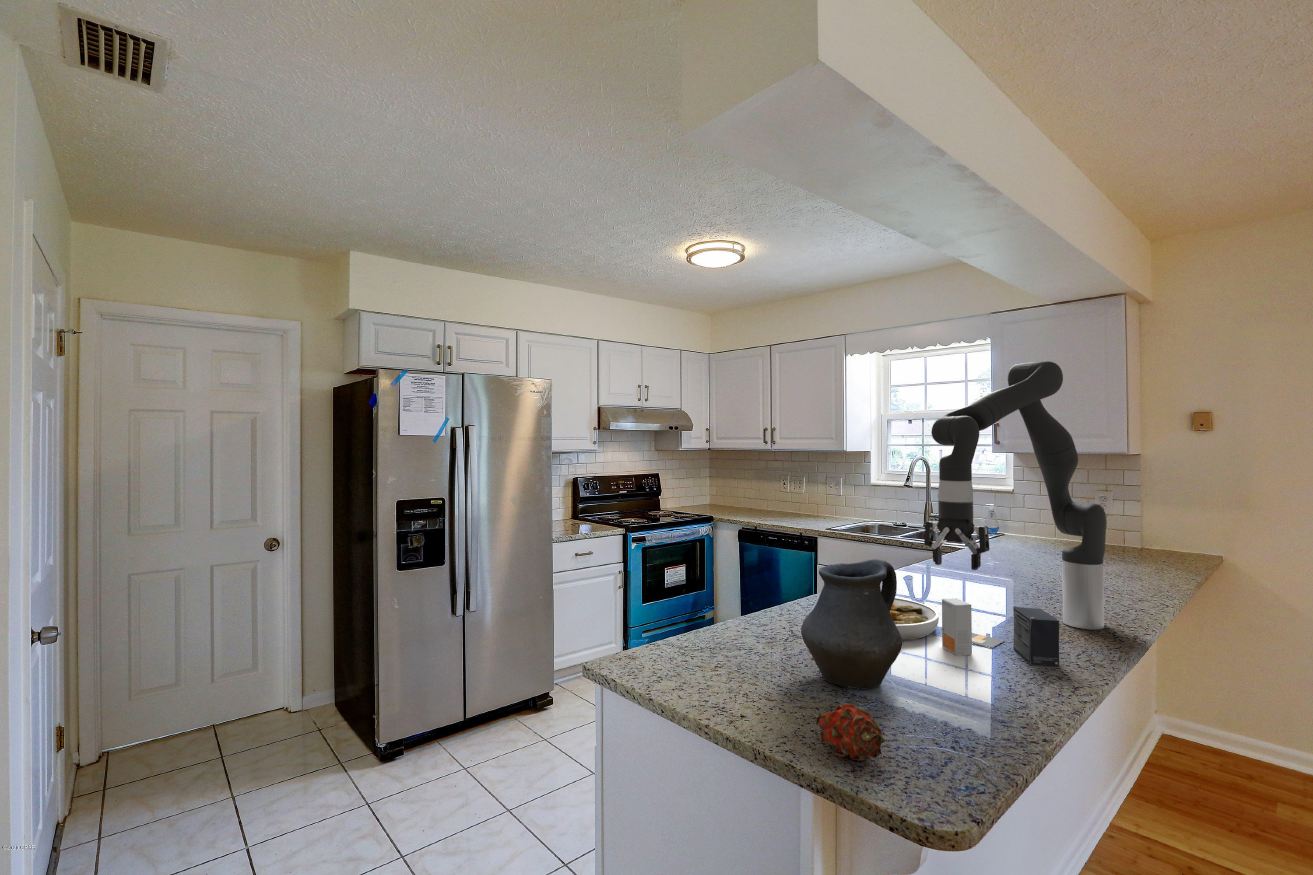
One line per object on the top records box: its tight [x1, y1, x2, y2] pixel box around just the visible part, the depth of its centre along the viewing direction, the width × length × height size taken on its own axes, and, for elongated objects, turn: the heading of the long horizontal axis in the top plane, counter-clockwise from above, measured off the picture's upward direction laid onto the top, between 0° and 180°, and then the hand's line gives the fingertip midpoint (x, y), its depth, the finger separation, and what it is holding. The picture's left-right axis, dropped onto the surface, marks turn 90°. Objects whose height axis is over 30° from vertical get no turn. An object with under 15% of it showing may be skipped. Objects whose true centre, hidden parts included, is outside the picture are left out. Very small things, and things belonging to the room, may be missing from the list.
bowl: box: [890, 597, 940, 641], centre depth 167 cm, size 30×30×8 cm
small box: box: [1012, 606, 1060, 667], centre depth 142 cm, size 11×6×10 cm, turn 168°
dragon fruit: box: [815, 702, 886, 762], centre depth 99 cm, size 8×8×12 cm
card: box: [972, 632, 1006, 649], centre depth 155 cm, size 8×10×1 cm
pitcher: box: [800, 558, 904, 690], centre depth 130 cm, size 21×22×25 cm
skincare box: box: [941, 597, 973, 657], centre depth 147 cm, size 6×4×12 cm
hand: (956, 566), depth 147 cm, fingers open, 8 cm apart
